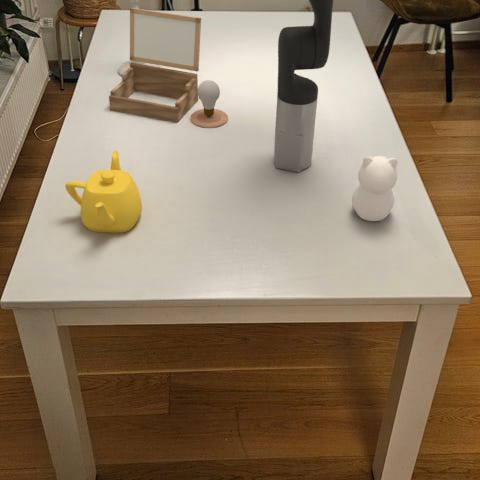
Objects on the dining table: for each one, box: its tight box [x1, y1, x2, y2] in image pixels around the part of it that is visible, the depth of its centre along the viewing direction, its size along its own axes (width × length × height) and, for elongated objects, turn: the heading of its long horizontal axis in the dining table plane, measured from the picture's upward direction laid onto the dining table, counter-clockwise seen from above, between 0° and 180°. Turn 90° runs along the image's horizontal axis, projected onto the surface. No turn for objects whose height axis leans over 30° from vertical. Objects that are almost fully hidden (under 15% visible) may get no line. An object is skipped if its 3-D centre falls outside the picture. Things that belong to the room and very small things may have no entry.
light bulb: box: [197, 80, 221, 117], centre depth 185 cm, size 6×6×10 cm
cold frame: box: [108, 63, 199, 123], centre depth 192 cm, size 14×20×8 cm
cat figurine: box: [351, 155, 398, 222], centre depth 151 cm, size 9×12×15 cm
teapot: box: [65, 149, 143, 234], centre depth 148 cm, size 22×16×11 cm
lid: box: [129, 7, 202, 72], centre depth 191 cm, size 14×20×1 cm
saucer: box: [189, 108, 229, 129], centre depth 188 cm, size 10×10×1 cm
